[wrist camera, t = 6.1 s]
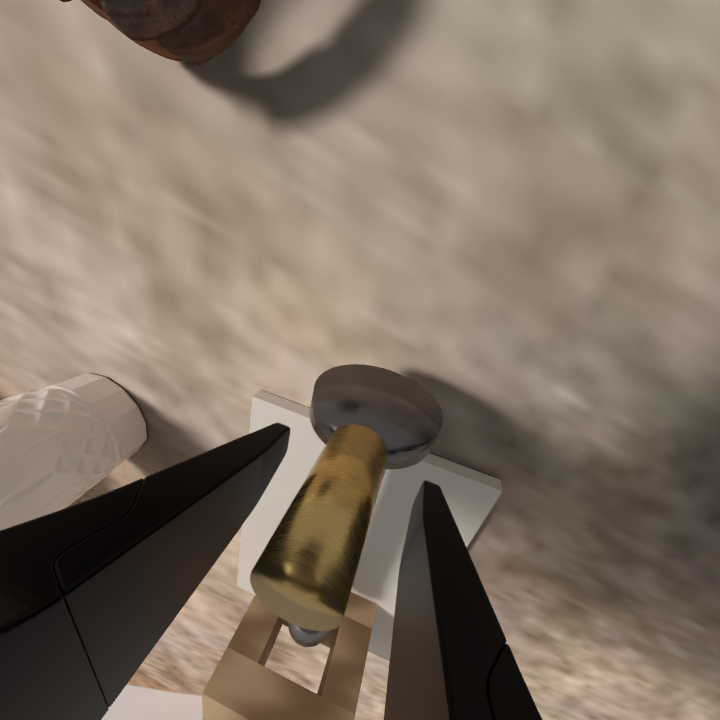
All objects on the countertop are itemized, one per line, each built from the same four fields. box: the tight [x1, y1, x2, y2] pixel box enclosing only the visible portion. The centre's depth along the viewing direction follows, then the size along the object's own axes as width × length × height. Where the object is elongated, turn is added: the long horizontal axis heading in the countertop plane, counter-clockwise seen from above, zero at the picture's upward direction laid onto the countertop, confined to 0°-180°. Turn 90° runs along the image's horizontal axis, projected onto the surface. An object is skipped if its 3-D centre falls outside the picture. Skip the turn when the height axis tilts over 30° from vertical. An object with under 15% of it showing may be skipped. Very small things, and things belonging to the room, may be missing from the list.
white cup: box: [0, 373, 147, 530], centre depth 18 cm, size 8×8×10 cm
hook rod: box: [250, 364, 443, 647], centre depth 13 cm, size 5×18×9 cm, turn 167°
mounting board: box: [237, 390, 503, 661], centre depth 21 cm, size 14×20×1 cm
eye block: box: [202, 592, 377, 720], centre depth 20 cm, size 8×5×8 cm, turn 77°
